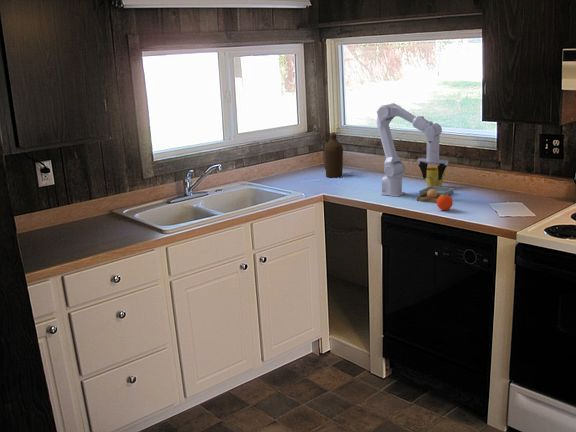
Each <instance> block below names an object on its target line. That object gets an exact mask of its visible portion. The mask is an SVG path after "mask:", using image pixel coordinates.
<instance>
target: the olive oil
mask: <svg viewBox="0 0 576 432" xmlns="http://www.w3.org/2000/svg"><path fill="white" fill-rule="evenodd" d="M329 137H330V138H329V140H328V142H327V143H326V144H325V145H324V149H323V153H324V154H323V155H324V169H325V177H326V178H329V179H331V178H332V179H338V178H342V177H343V166H344V163H343V160H344V157H343V156H344V148H343V145H342V144H341V143H340V141H339V140H338V139H337V132H335V131H334V132H333V131H332V132H330V133H329Z"/></svg>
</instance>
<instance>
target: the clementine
mask: <svg viewBox="0 0 576 432" xmlns="http://www.w3.org/2000/svg"><path fill="white" fill-rule="evenodd" d="M453 204H454V201H453V198H452V197H451V196H450V195H441V196H440V197H439V198H438V199H437V203H436V206H437V207H438V209H440V210H442V211H449V210H450V209H451V208H452V207H453Z"/></svg>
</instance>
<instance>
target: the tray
mask: <svg viewBox="0 0 576 432" xmlns="http://www.w3.org/2000/svg"><path fill="white" fill-rule="evenodd" d="M440 196H441V195H440V194H437V196H436V197H435V198H429V197H428V196H427V193H424V194H422V195H420V196H419V195H418V196H416V201H417V202H422V203H431V204H437V199H438V198H439V197H440Z"/></svg>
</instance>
